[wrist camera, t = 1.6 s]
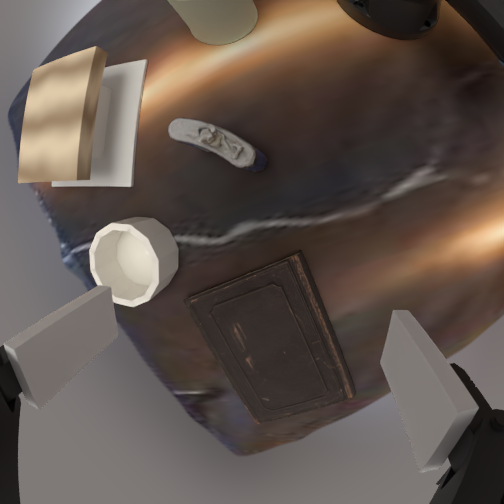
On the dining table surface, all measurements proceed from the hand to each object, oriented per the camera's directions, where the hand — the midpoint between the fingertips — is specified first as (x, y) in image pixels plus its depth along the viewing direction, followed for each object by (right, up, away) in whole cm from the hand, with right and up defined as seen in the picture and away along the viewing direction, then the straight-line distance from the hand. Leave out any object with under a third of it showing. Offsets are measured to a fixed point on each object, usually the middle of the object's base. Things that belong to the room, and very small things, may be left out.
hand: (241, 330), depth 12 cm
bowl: (-14, +3, +25) cm, 29 cm away
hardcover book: (+4, -10, +26) cm, 28 cm away
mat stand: (-22, +22, +22) cm, 38 cm away
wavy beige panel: (-23, +20, +15) cm, 34 cm away
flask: (-2, +15, +21) cm, 26 cm away
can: (-3, +34, +17) cm, 38 cm away
